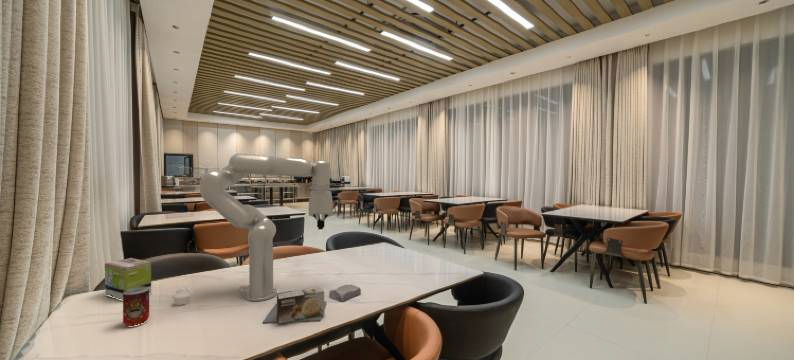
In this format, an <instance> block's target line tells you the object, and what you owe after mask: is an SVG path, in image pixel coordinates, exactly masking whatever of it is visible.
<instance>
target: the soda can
mask: <svg viewBox="0 0 794 360" xmlns="http://www.w3.org/2000/svg"><path fill="white" fill-rule="evenodd" d="M149 317H150V295H149V288H148V287H144V286H139V287H133V288H130V289H128V290H126V291H125V292H124V293H123V301H122V322H123V324H124V325H125V327H126V326H134V325H138V324H141V323H144V322H145V321H146V320H147V321H148V319H149Z"/></svg>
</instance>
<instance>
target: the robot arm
mask: <svg viewBox="0 0 794 360" xmlns="http://www.w3.org/2000/svg"><path fill="white" fill-rule="evenodd" d="M330 164H331V163H330V162H329V161H327V160H315V161H311V160H310V161H309V160H306V159H302V158H289V157H279V156H272V155H260V154H252V153H251V154H250V153H249V154H248V153H236V154H233V155H232V156H231V157H230V158H229V160H228V164H227V165H226V166H224V167H223V168H222V169H213V170H209V171H207V172H206V173H204V174H203V175H202V177H201V179H200V181H199V186H198V187H199V188H198V189H199V192H200V195H201V197H202V199H203V200H204V201H205V203H206V204H207V205H209V206H210V207H211V208H212V209H214V210H215V211H216V212H217V213H218V214H219V215H221V216H222V217H223V218H224V219H225V220H226V221H227V222H229V223H230V224H231V225H232V226H234V227H235V228H237V229H247V230H248V235H247V244H248V262H249V263H248V264H249V267H248V268H249V270H248V273H249V275H248V276H249V279H248V281H249V283H248V284H249V285H247V286H246V285H245V286H244V285H240V286H239V292H240V293H245V299H246V301H249V302H259V301H260V302H261V301H267V300H270V299H272V298H274V297H277V293H278V291H277V289H276V288H274V244H273V239H274V237H275V235H276V233H277V228H276V227H277V226H276V224H275V223H274V222H273V221H272V220H271V219H269V217H267V216H266V215H265V214H264V213H262V212H261V211H260V210H259V209H257V208H256V207H255V206H254V205H251V204H243V203H242V202H240V201H239V200H238V199H236V198H235V197H234V196H233V195H231V193H229V192H228V191H226V189H227V190H228V189H229V188H231V187H232V186H233V187H234V185H236V183H238V182H239V181H241V180H242V179H243V178H245V177H247V176H248V175H259V176H271V177H272V176H274V177H275V176H283V177H297V178H309V177H312V180H311V182H312V183H311V185H309V186H308V189H310V190H311V191H309V198H308V210H307V211H308V216H309V217H312V218H314V219H315V220H316V228H318V229H317V230H323V229H324V228H325V222H326V219H327V218H329V217H332V216H334V213H333V209H334V208H333V207H334V206H333V205H334V204H333V196H332V195H333V194H332V191H331V189H330V184H331V183H330V182H331V181H330V180H331V179H330V177H331V176H330V175H331V174H330V172H331V170H330V169H331V165H330ZM320 215H321V216H320Z"/></svg>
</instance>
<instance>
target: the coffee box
mask: <svg viewBox="0 0 794 360" xmlns="http://www.w3.org/2000/svg"><path fill="white" fill-rule="evenodd" d="M324 301H325V290H324V289H323V287H322V286H316V287H315V286H314V287H307V288H301V289H295V290H290V291H283V292H282V291H281V292H277V295H276V303H277V321H278V323H277V324H278V325H279V324H280V325H281V324H285V322H290V321H295V320H300V319H305V318H310V317H315V316H320V315H322V316H324V315H325V309H324Z"/></svg>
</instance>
